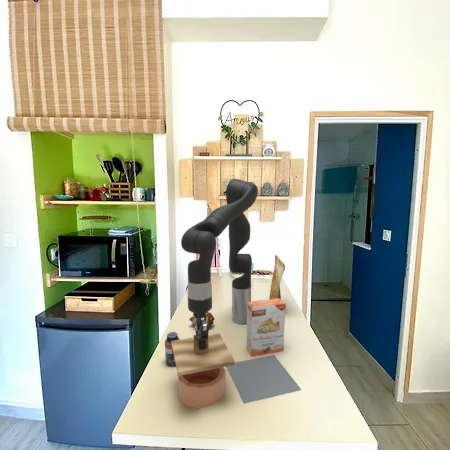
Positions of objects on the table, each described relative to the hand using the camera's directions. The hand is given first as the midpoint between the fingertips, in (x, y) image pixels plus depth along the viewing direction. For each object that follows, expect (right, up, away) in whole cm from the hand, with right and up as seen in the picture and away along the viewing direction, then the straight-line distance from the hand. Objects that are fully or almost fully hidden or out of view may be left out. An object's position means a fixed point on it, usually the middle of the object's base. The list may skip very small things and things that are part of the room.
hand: (200, 344), depth 93 cm
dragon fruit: (-3, -10, +44) cm, 45 cm away
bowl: (0, -16, +2) cm, 16 cm away
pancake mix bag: (+34, -7, +60) cm, 70 cm away
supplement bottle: (-12, -14, +18) cm, 25 cm away
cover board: (0, -3, +1) cm, 3 cm away
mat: (+20, -15, +8) cm, 26 cm away
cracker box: (+24, -13, +24) cm, 36 cm away
